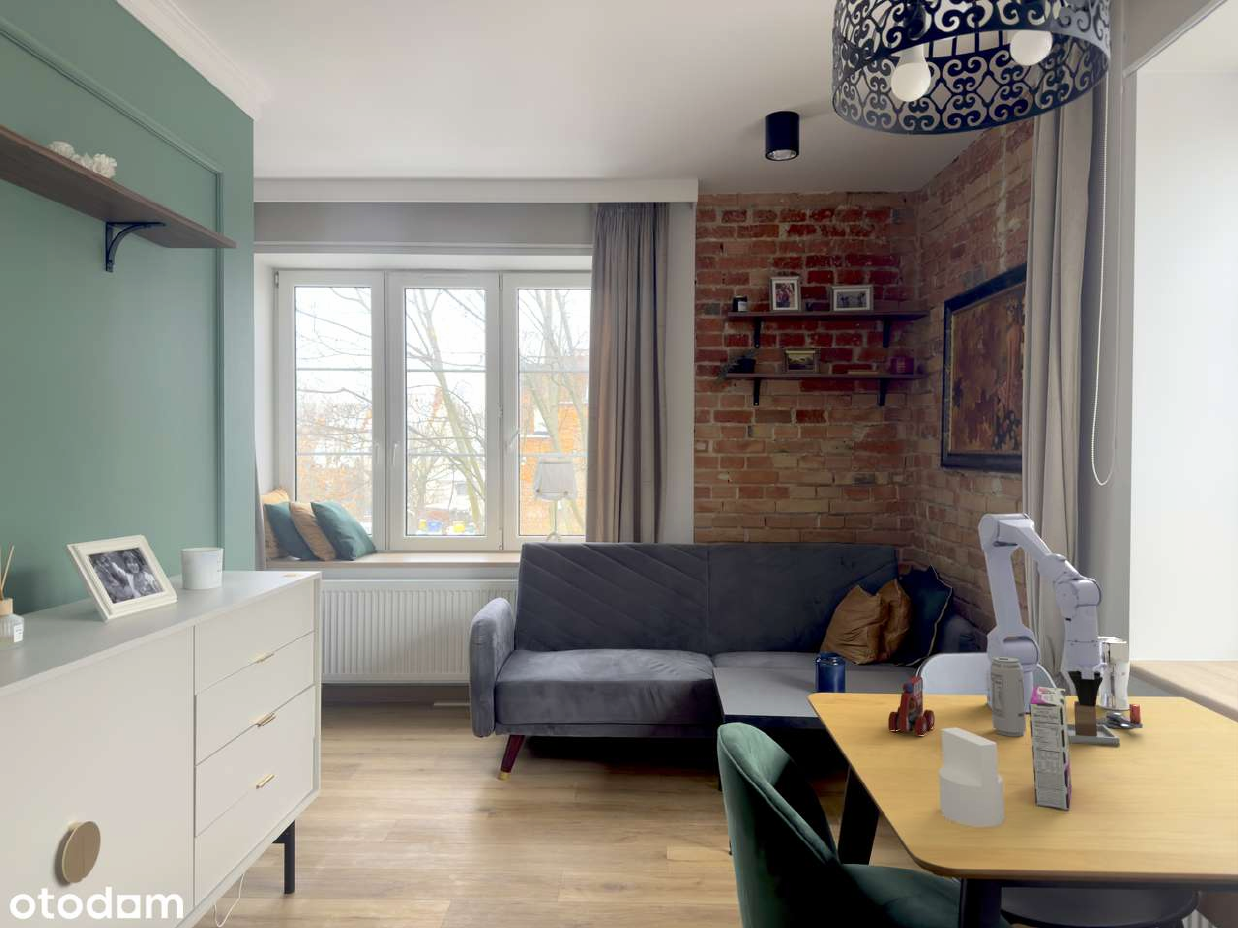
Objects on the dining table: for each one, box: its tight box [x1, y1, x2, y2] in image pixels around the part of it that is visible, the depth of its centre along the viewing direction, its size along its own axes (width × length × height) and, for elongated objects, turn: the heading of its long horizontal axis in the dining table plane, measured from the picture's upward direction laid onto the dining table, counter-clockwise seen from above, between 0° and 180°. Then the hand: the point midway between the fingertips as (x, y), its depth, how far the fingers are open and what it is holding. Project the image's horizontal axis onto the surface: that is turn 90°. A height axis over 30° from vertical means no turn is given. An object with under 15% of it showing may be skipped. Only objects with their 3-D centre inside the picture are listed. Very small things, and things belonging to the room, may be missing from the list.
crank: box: [1105, 703, 1143, 729], centre depth 159 cm, size 9×3×4 cm, turn 1°
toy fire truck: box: [887, 675, 936, 736], centre depth 161 cm, size 7×12×10 cm, turn 142°
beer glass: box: [1097, 636, 1131, 711], centre depth 174 cm, size 7×7×15 cm
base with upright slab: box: [938, 727, 1006, 828], centre depth 119 cm, size 9×9×12 cm
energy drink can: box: [989, 656, 1027, 737], centre depth 158 cm, size 6×6×15 cm
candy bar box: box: [1029, 686, 1072, 811], centre depth 125 cm, size 11×5×16 cm, turn 148°
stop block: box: [1073, 700, 1098, 736], centre depth 152 cm, size 4×4×6 cm
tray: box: [1067, 722, 1121, 746], centre depth 153 cm, size 9×9×1 cm
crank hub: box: [1096, 717, 1135, 730], centre depth 161 cm, size 7×7×1 cm
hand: (1087, 709), depth 153 cm, fingers closed, pressing on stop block
